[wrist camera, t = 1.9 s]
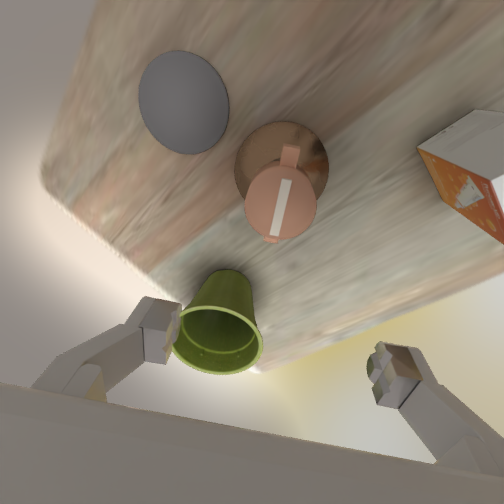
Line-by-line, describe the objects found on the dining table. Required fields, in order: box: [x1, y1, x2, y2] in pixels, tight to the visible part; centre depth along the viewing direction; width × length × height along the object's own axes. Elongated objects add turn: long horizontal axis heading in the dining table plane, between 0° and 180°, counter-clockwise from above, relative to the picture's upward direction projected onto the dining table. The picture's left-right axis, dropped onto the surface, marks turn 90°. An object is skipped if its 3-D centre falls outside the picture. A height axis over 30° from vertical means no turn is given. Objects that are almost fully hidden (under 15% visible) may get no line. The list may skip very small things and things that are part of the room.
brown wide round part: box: [235, 121, 329, 200], centre depth 30 cm, size 11×11×8 cm
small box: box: [417, 109, 504, 245], centre depth 25 cm, size 8×6×13 cm
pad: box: [139, 51, 229, 154], centre depth 31 cm, size 10×10×1 cm
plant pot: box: [172, 270, 263, 375], centre depth 38 cm, size 12×12×11 cm
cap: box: [245, 143, 317, 243], centre depth 25 cm, size 9×6×4 cm, turn 171°
